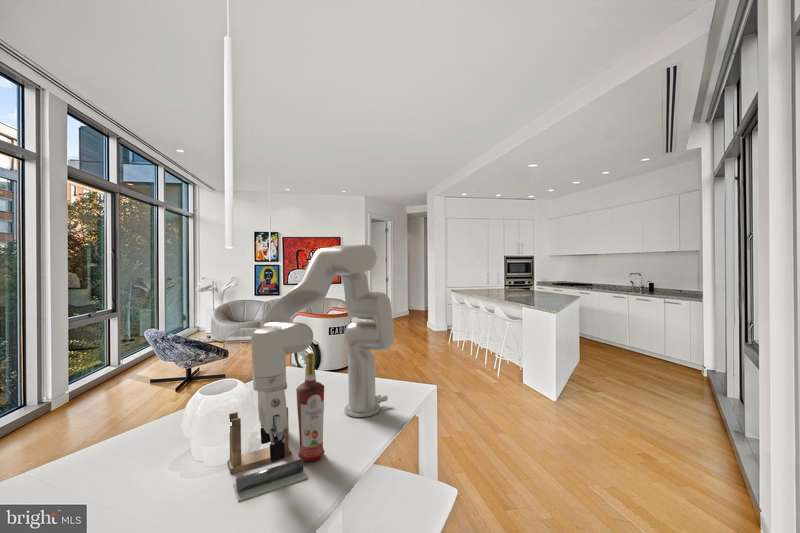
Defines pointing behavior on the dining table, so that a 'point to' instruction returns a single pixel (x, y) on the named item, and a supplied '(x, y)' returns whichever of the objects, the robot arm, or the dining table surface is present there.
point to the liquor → (310, 413)
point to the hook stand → (251, 458)
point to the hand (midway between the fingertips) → (272, 450)
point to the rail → (269, 475)
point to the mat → (269, 486)
